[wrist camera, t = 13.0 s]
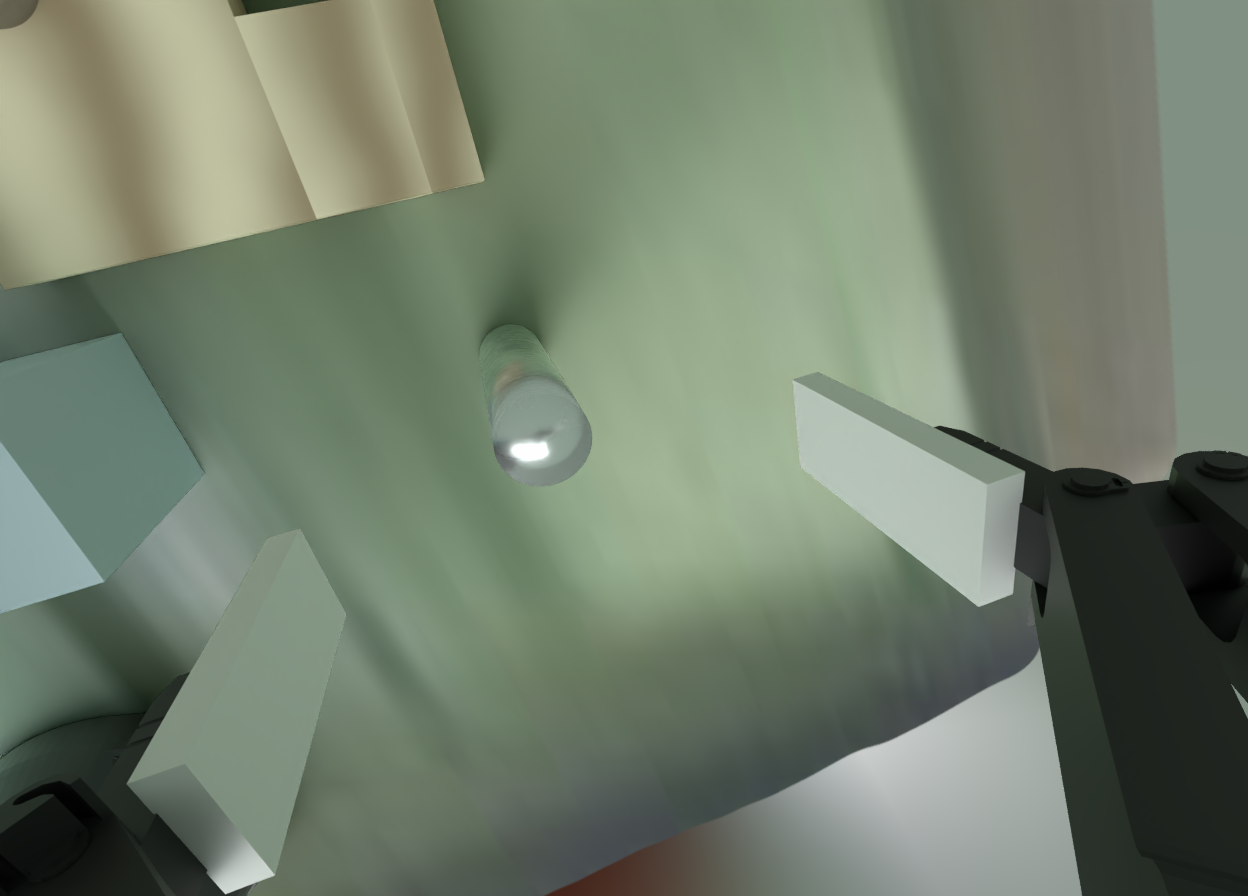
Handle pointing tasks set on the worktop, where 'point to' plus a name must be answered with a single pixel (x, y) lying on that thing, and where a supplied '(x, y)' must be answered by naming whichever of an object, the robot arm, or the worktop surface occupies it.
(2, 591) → the block
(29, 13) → the board
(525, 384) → the peg
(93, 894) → the robot arm
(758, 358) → the worktop surface
